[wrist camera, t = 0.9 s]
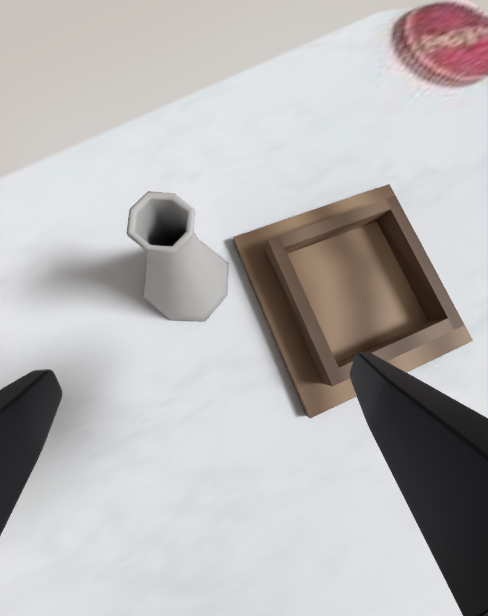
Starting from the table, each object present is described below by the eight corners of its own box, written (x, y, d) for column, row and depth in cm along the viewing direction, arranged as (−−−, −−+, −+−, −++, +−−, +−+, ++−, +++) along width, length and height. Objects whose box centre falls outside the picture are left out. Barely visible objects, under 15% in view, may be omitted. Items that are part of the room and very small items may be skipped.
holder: (306, 415, 21) (319, 425, 18) (233, 241, 23) (234, 225, 20) (464, 341, 23) (497, 339, 20) (384, 189, 25) (403, 169, 23)
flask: (211, 335, 21) (204, 318, 12) (129, 304, 21) (51, 260, 11) (241, 258, 23) (257, 185, 13) (164, 229, 23) (122, 133, 13)
